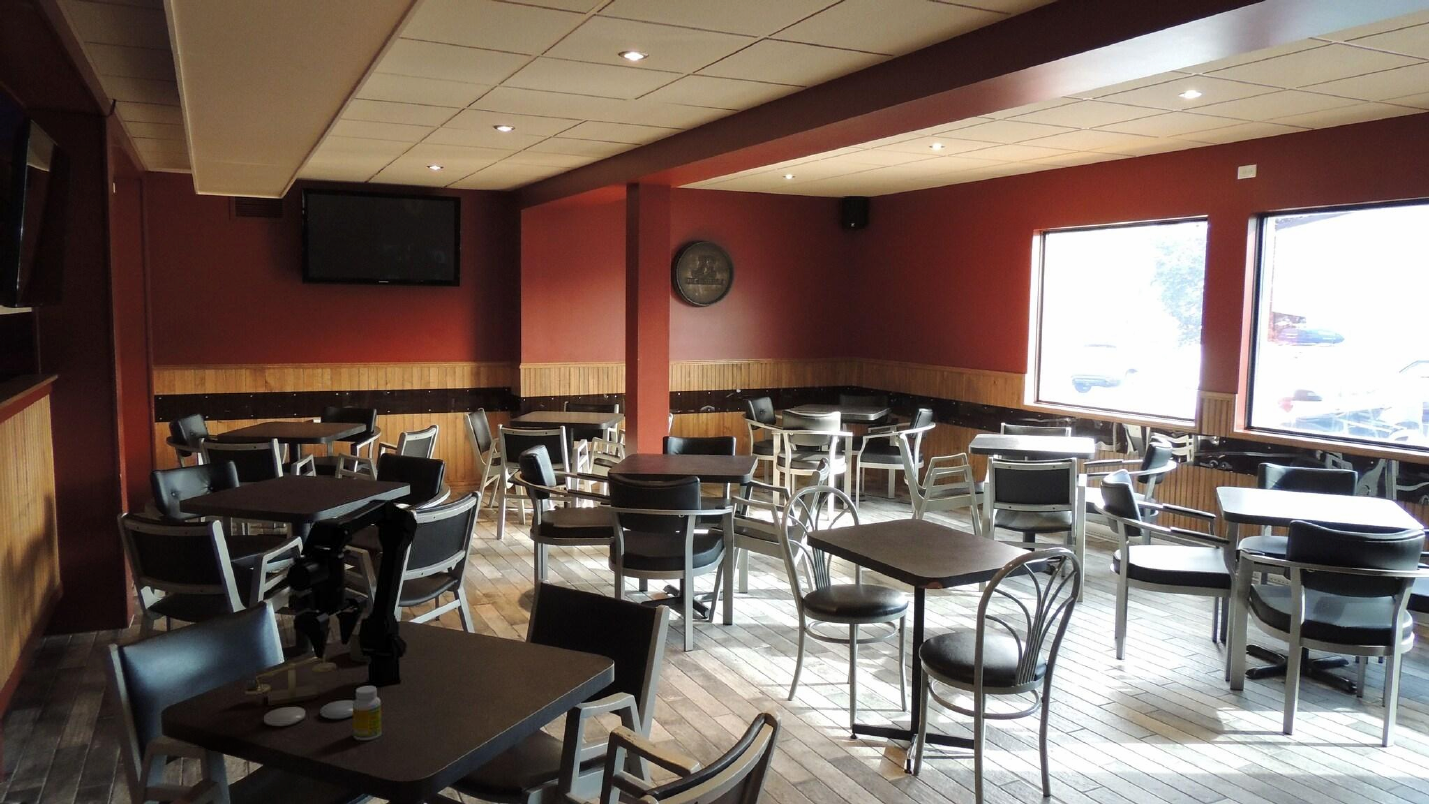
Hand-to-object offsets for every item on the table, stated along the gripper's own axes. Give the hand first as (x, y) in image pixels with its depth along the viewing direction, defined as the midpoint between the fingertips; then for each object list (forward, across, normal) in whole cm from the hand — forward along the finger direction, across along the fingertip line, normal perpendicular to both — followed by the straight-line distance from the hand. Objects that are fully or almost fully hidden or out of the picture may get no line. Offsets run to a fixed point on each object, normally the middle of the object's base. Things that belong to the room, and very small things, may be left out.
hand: (332, 651), depth 217 cm
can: (+13, -35, -11) cm, 39 cm away
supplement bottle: (+14, +10, +14) cm, 22 cm away
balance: (+13, -5, -14) cm, 20 cm away
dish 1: (+13, +6, -7) cm, 17 cm away
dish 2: (+13, +1, +2) cm, 13 cm away
